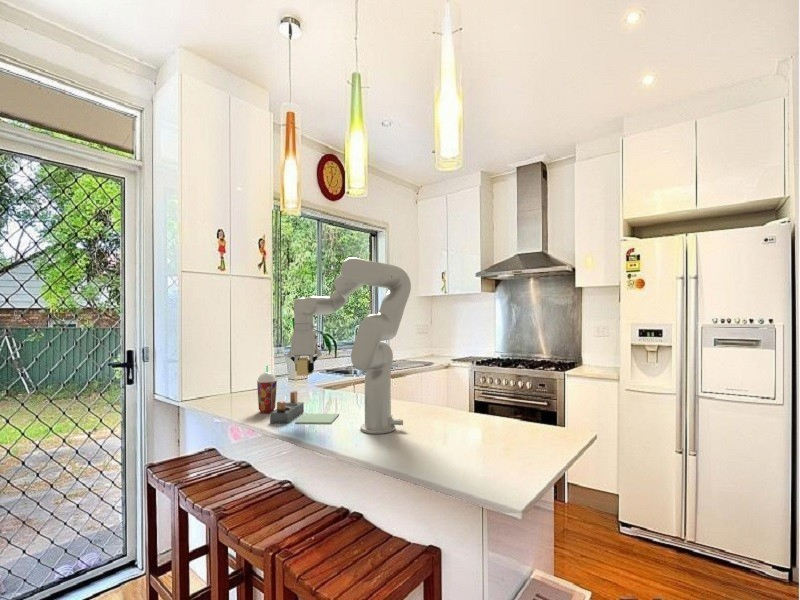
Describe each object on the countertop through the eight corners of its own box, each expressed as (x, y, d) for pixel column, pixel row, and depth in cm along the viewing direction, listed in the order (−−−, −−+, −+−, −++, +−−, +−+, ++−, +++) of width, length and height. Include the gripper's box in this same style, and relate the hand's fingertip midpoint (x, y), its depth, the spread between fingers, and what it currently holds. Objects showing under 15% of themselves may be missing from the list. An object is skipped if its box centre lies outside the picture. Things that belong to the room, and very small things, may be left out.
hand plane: (303, 411, 176) (303, 390, 177) (287, 423, 156) (287, 400, 157) (287, 411, 177) (287, 390, 177) (269, 423, 157) (270, 399, 157)
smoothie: (281, 411, 178) (281, 365, 179) (265, 415, 171) (265, 367, 172) (268, 409, 182) (268, 364, 183) (252, 412, 175) (252, 366, 176)
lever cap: (312, 373, 168) (312, 356, 169) (307, 375, 161) (307, 358, 162) (301, 373, 169) (301, 357, 169) (296, 375, 162) (296, 358, 162)
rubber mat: (339, 415, 169) (339, 413, 169) (331, 424, 155) (331, 422, 155) (306, 415, 170) (306, 413, 170) (295, 423, 156) (295, 422, 156)
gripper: (326, 327, 169) (327, 371, 168) (286, 328, 170) (287, 372, 169) (321, 327, 162) (322, 373, 161) (280, 328, 163) (281, 374, 162)
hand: (304, 372), depth 165 cm, fingers closed on lever cap, 4 cm apart
